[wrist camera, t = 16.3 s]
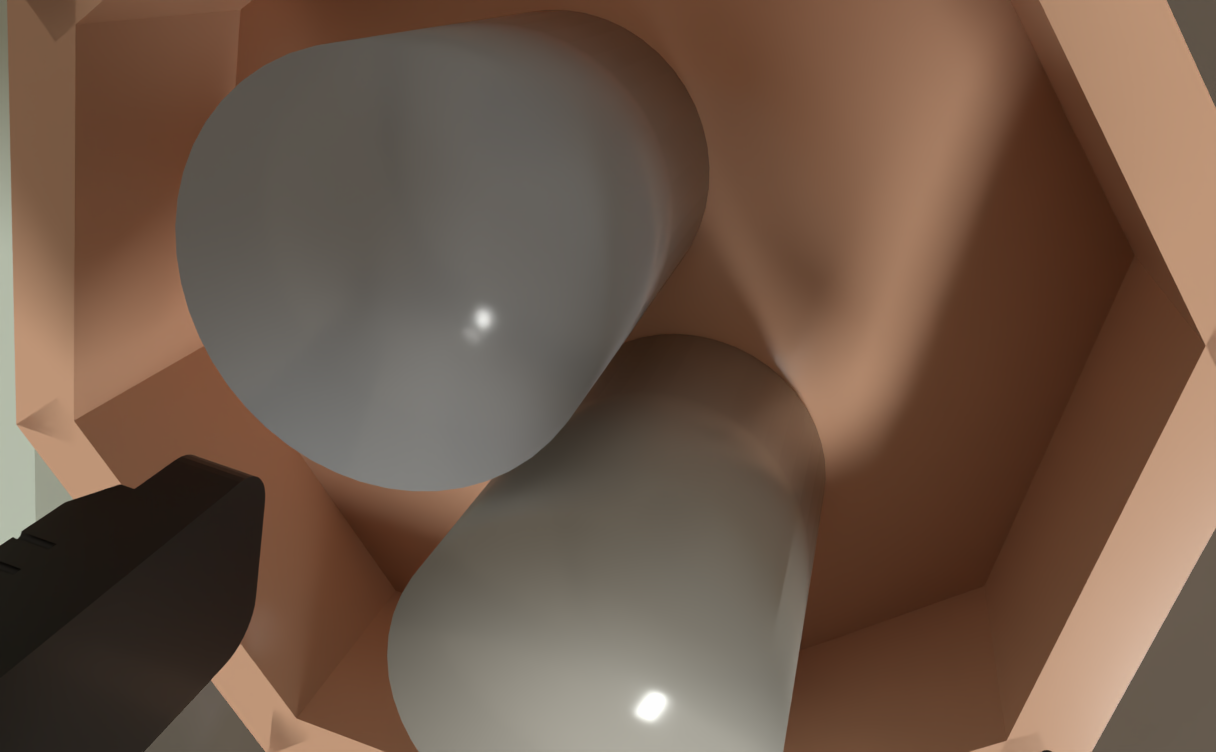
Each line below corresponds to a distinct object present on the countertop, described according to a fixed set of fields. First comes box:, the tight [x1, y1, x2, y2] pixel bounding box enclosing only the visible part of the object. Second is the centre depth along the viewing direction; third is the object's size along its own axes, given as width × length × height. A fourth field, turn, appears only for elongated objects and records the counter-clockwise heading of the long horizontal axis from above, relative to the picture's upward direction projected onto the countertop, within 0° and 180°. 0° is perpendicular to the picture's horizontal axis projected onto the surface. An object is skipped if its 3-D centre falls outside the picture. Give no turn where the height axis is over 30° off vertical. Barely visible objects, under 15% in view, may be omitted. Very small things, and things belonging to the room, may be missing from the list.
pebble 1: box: [175, 10, 710, 491], centre depth 11 cm, size 4×4×5 cm
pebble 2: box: [387, 334, 826, 752], centre depth 12 cm, size 4×4×5 cm
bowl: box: [7, 0, 1216, 752], centre depth 13 cm, size 13×13×4 cm
